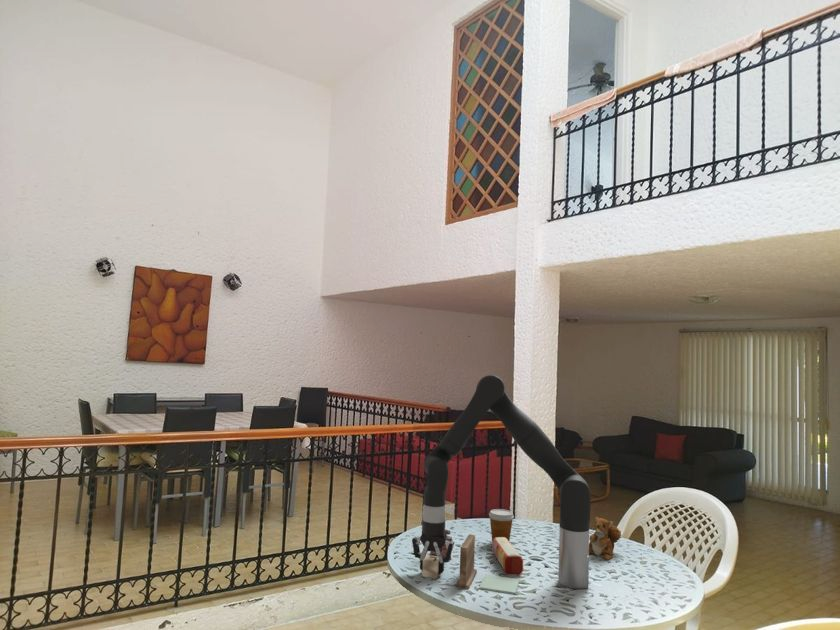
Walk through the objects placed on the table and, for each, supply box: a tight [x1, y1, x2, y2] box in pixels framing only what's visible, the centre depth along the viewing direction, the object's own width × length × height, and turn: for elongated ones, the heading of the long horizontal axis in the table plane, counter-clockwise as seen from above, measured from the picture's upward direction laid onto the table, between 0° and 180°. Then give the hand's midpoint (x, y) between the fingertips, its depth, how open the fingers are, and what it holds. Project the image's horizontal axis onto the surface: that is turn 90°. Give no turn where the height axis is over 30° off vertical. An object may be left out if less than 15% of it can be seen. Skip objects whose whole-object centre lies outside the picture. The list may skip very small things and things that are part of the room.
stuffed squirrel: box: [589, 516, 622, 561], centre depth 208 cm, size 10×14×13 cm
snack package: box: [491, 537, 524, 576], centre depth 193 cm, size 21×7×7 cm, turn 4°
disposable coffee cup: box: [488, 508, 515, 543], centre depth 214 cm, size 10×10×12 cm
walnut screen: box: [455, 533, 478, 590], centre depth 178 cm, size 4×14×12 cm, turn 164°
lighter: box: [429, 528, 453, 562], centre depth 197 cm, size 8×3×10 cm, turn 62°
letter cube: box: [421, 554, 440, 579], centre depth 181 cm, size 5×5×5 cm
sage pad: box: [479, 573, 520, 595], centre depth 175 cm, size 11×11×1 cm
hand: (431, 572), depth 181 cm, fingers closed on letter cube, 5 cm apart
